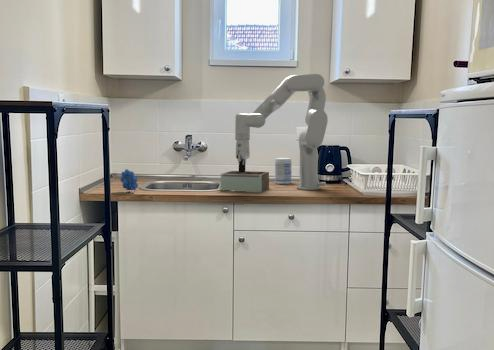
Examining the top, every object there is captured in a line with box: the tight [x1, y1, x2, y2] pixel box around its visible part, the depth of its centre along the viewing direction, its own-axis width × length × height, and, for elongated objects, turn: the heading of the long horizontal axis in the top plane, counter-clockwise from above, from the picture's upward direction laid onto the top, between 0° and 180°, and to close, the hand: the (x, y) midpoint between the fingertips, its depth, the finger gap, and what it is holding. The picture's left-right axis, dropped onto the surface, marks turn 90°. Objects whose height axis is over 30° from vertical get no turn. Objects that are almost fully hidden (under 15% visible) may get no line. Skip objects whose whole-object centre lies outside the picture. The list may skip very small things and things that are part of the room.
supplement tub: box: [274, 157, 292, 185], centre depth 275 cm, size 10×10×15 cm
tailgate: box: [220, 173, 263, 193], centre depth 244 cm, size 22×1×9 cm, turn 73°
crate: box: [221, 170, 270, 193], centre depth 252 cm, size 22×15×9 cm, turn 73°
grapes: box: [120, 168, 139, 191], centre depth 244 cm, size 12×7×12 cm, turn 59°
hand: (241, 172), depth 247 cm, fingers closed
